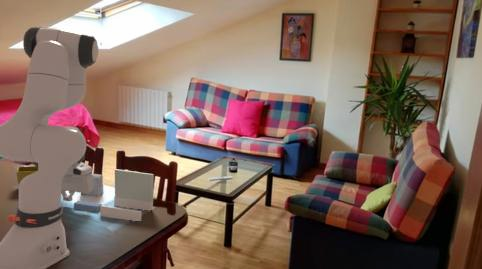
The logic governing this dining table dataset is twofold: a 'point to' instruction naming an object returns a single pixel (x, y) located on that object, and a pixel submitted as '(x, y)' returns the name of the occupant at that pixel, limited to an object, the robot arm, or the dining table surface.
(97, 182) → the medicine box
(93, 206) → the blue-grey rectangular bar
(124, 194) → the lid
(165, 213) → the dining table surface
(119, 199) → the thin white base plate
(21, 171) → the flower pot
